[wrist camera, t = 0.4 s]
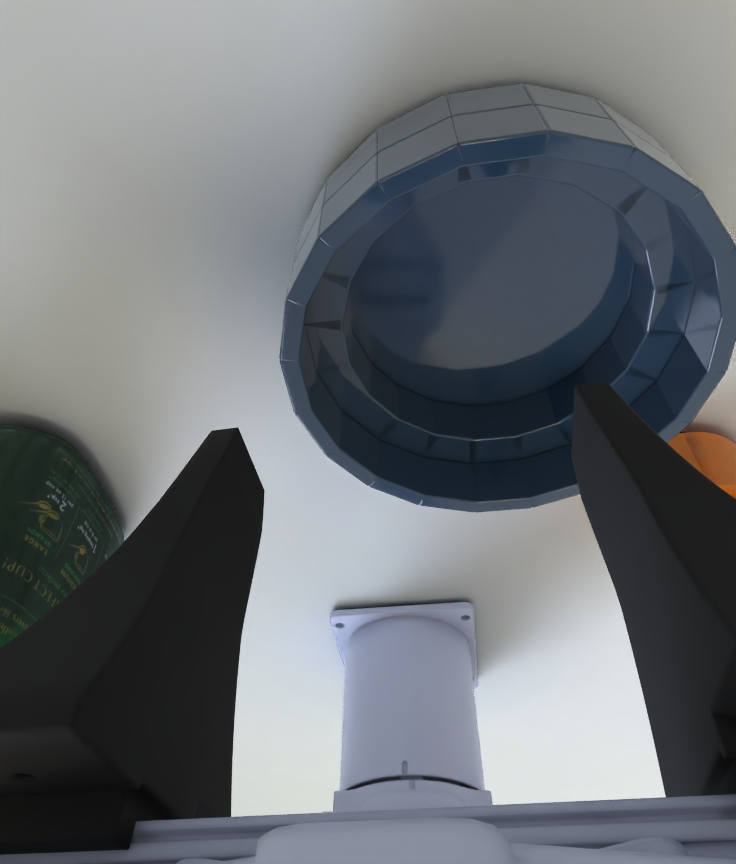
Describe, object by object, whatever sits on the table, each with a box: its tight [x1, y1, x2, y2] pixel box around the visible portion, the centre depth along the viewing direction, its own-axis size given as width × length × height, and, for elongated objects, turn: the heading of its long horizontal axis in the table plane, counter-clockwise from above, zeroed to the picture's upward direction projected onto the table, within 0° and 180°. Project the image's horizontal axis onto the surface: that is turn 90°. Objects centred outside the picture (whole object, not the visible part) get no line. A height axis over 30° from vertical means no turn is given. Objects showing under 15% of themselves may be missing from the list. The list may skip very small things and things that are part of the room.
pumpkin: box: [668, 432, 736, 499], centre depth 26 cm, size 6×6×5 cm
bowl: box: [279, 84, 736, 512], centre depth 21 cm, size 13×13×4 cm
